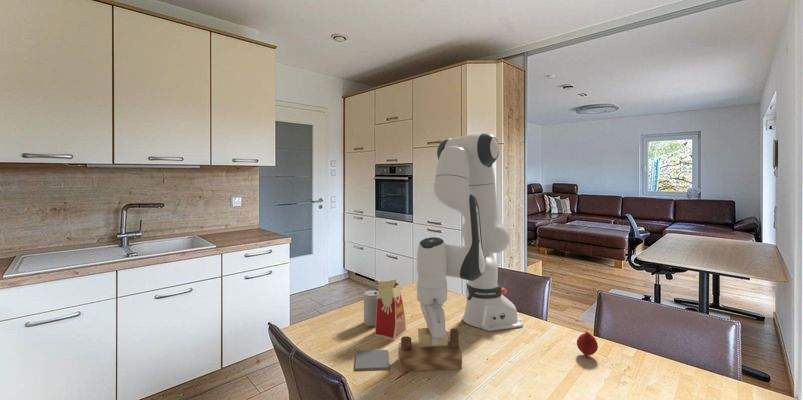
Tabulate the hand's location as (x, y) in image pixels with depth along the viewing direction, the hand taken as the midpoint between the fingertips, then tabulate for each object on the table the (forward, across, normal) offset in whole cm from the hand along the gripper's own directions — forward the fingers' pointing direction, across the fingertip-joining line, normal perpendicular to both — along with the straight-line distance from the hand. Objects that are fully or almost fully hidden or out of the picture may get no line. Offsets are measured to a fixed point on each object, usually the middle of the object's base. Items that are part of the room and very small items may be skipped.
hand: (432, 338), depth 106 cm
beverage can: (+8, +29, +17) cm, 35 cm away
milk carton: (+8, +21, +12) cm, 25 cm away
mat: (+7, +3, +18) cm, 20 cm away
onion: (+9, 0, -49) cm, 50 cm away
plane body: (+8, 0, +1) cm, 8 cm away
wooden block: (+1, 0, 0) cm, 1 cm away
